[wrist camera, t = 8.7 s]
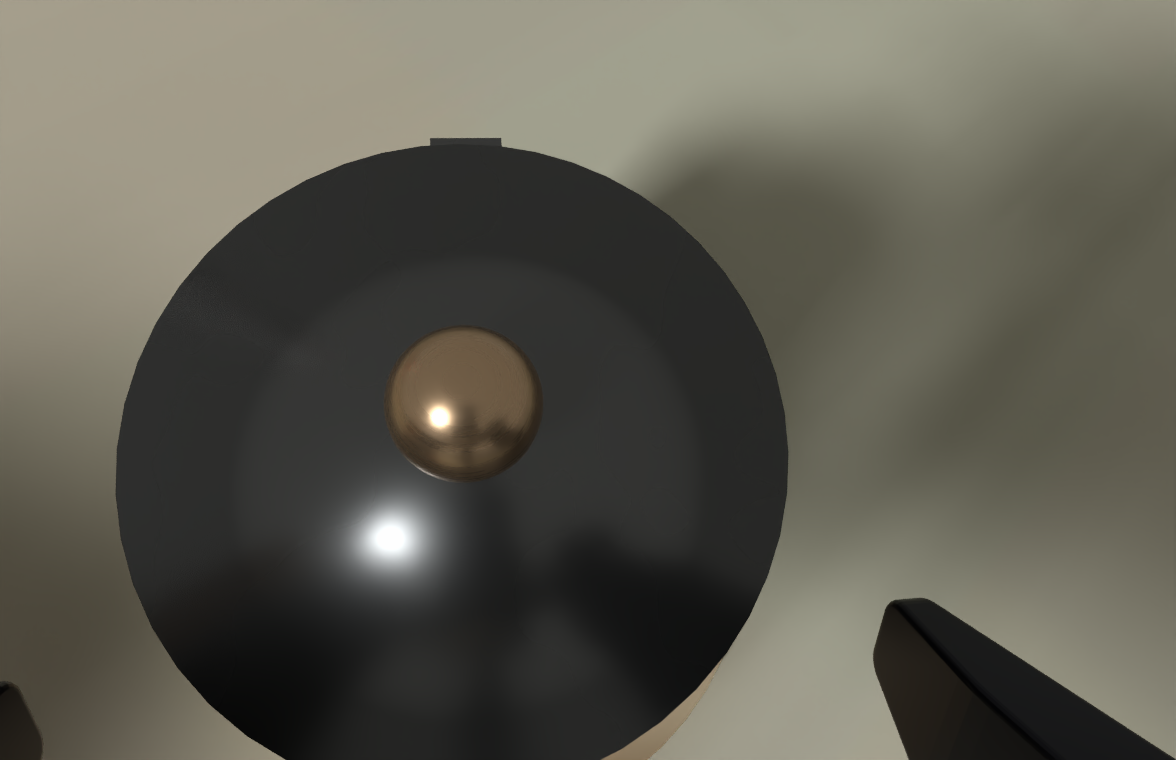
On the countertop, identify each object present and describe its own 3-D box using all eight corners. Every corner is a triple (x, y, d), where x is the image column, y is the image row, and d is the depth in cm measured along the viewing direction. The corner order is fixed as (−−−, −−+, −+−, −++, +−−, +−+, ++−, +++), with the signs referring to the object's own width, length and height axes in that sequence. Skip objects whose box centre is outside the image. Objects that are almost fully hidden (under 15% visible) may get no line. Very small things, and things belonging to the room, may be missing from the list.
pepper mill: (630, 660, 16) (951, 809, 5) (353, 687, 15) (-91, 944, 4) (600, 325, 18) (767, -142, 7) (356, 334, 18) (77, -175, 6)
